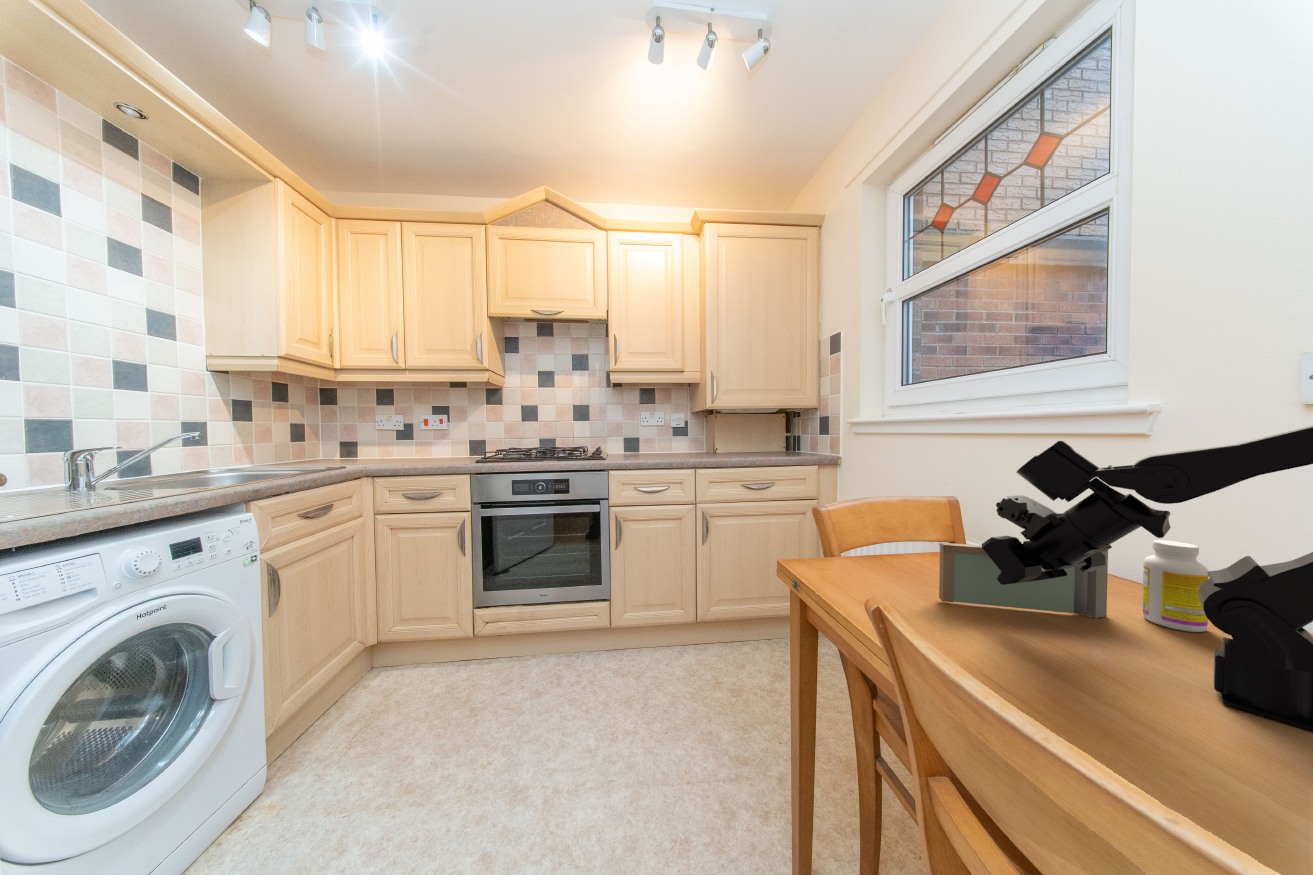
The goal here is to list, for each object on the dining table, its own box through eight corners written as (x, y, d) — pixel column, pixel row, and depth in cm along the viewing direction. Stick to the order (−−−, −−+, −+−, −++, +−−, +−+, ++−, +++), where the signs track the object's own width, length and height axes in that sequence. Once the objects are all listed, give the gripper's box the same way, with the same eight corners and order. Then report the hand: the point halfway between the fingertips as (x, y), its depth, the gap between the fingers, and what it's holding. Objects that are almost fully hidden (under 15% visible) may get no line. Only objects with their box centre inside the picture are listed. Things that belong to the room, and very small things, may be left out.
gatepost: (1083, 608, 74) (1085, 539, 74) (1106, 615, 71) (1108, 543, 71) (1072, 611, 73) (1074, 540, 73) (1095, 618, 70) (1097, 544, 70)
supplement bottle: (1222, 634, 65) (1224, 549, 65) (1177, 633, 65) (1179, 548, 65) (1170, 615, 72) (1172, 538, 72) (1129, 614, 72) (1131, 537, 72)
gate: (1081, 611, 72) (1082, 551, 72) (1089, 615, 70) (1091, 555, 70) (938, 597, 77) (939, 542, 77) (943, 601, 75) (944, 545, 75)
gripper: (1080, 478, 67) (1002, 534, 77) (996, 481, 61) (924, 541, 71) (1151, 540, 59) (1054, 593, 70) (1064, 552, 53) (972, 607, 64)
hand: (1000, 581), depth 69 cm, fingers closed
